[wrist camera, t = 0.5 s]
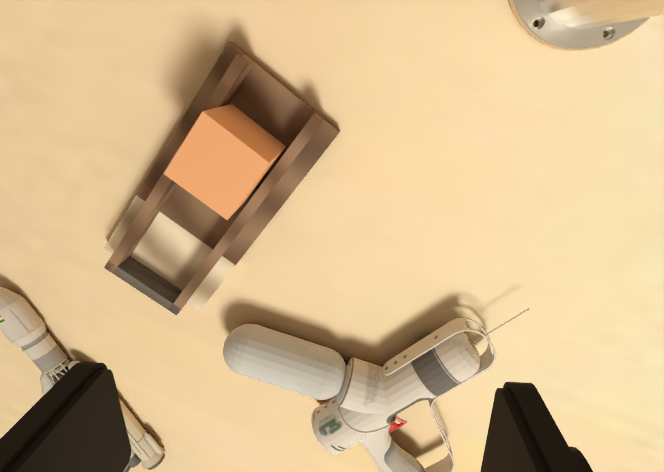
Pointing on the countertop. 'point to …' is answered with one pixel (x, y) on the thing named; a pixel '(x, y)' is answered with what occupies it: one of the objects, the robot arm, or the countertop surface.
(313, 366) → the gun
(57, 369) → the rocket model
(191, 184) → the block
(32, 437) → the robot arm
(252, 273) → the countertop surface
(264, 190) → the chute
